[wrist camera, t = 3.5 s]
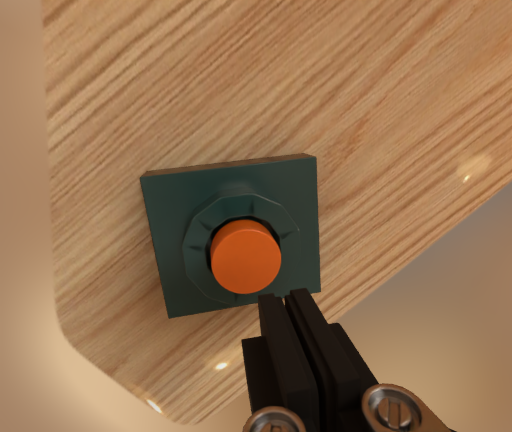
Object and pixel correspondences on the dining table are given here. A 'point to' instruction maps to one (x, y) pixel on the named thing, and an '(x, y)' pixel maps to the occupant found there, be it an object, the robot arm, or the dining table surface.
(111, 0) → the dining table surface
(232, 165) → the button housing
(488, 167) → the dining table surface
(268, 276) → the orange push button
